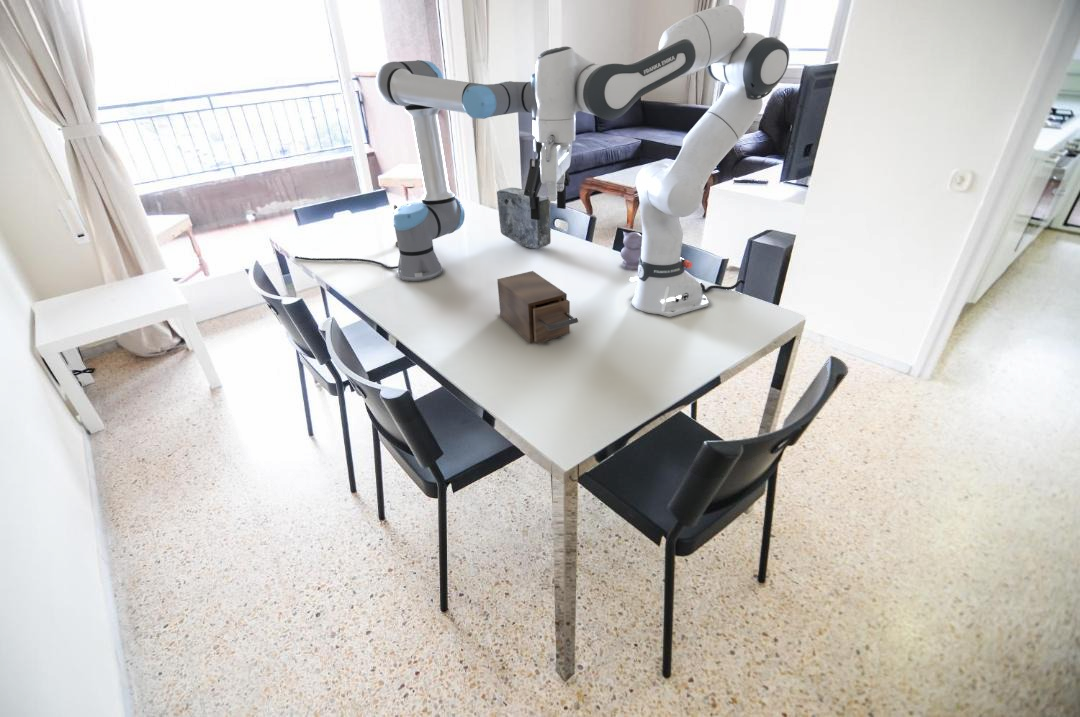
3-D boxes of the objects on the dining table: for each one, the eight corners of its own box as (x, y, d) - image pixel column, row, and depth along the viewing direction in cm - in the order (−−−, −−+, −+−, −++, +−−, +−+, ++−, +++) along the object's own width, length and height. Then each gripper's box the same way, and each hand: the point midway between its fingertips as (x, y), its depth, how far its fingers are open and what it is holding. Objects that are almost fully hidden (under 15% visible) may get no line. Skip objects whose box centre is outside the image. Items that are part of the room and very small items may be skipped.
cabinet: (566, 332, 136) (566, 293, 130) (530, 343, 131) (528, 303, 125) (534, 306, 150) (532, 270, 144) (500, 315, 146) (497, 279, 140)
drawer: (580, 342, 129) (581, 309, 124) (546, 352, 125) (545, 318, 120) (538, 308, 147) (537, 278, 142) (507, 316, 143) (504, 286, 138)
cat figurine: (648, 265, 175) (651, 232, 169) (635, 272, 170) (638, 238, 164) (628, 260, 180) (630, 227, 174) (615, 266, 175) (616, 233, 169)
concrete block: (555, 250, 192) (555, 197, 181) (537, 255, 188) (535, 201, 177) (517, 234, 210) (514, 185, 200) (499, 238, 206) (496, 189, 196)
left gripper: (530, 144, 127) (534, 226, 138) (581, 131, 144) (581, 205, 155) (508, 142, 131) (513, 222, 142) (560, 130, 148) (561, 202, 159)
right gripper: (561, 139, 102) (562, 207, 109) (576, 126, 119) (575, 186, 126) (532, 139, 103) (534, 206, 111) (550, 126, 120) (551, 185, 128)
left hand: (548, 213), depth 149 cm, fingers open, 13 cm apart
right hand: (556, 195), depth 119 cm, fingers open, 8 cm apart
